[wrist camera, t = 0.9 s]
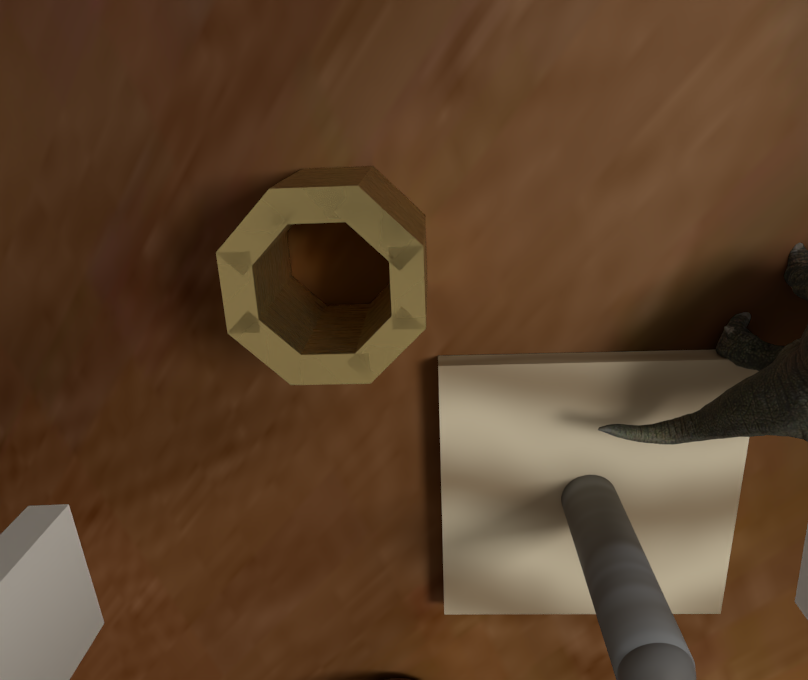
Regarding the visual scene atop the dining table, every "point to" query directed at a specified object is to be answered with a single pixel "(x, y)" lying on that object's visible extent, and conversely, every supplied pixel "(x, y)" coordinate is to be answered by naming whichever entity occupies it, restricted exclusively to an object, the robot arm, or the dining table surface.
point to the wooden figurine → (398, 679)
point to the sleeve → (299, 308)
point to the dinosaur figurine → (747, 385)
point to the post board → (561, 440)
